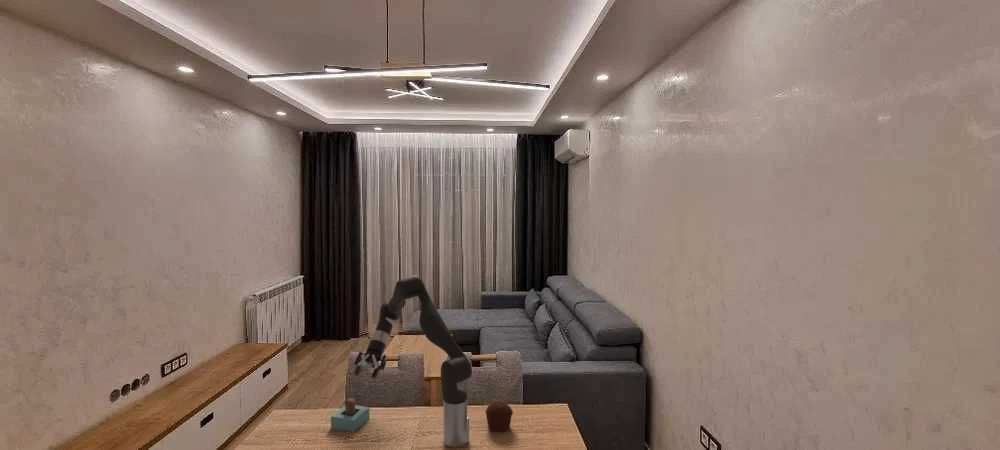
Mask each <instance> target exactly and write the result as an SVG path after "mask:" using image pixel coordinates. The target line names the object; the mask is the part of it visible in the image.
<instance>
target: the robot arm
mask: <svg viewBox="0 0 1000 450" xmlns="http://www.w3.org/2000/svg"><path fill="white" fill-rule="evenodd" d="M428 292H429V291H428V290H427V288H426V286H425V284H424V281H423V280H422V278H421V277H420V276H419V275H417V274H414V275H409V276H406V277H403V278H400V279H398V280H397V282H396V283H395V285H394V290H393V294H392V297H391V299H389V300H388V301H387V302H386V301H385V302H383V303H382V304H381V306H380V309H379V317H378V323H377V325H376V327H375V330H374V332H373V334H372V335H371V338H370V341H369V343H368V345H367V348H366V351H365V353H364V352H362V351H359V352H358V353H357V354H358V355H357V356H356V358H355V361H354V363H353V364H355V365H356V367H355V371H354V375H355V376H356V377H358V376H359V375H360V373H361V370H362V368H363V367H364V366H366V365H367V364H368V365H374V366H375V368H374V370H373V372H372V375H371V378H372V379H376V378H377V377H378V374H379V371H381V370H382V371H383V370H385V367H386V364H387V361H388V357H387V355H386V354H384V352H385V350H386V347H387V345H388V341H389V338H390V334H391V332H392V329H393V323H391V322H390V321H389V320H391V321H394V322H395V321H399V320H400V318H401V317H402V314H403V308H404V307H405V306H406V302H407V300H409V299H413V298H416V297H418V298H419V299H418V300H420V314H419V320H418V321H419V326H420V329H421V330H422V332H423V334H424V337H425V338H426V339H427V340H428V341H429V342H430V343H432V344H433V345H435V346H436V347H438V348H440V349H441V350H442V351H443V352H445V353H446V354H447V356H448V357H449V359H447V360H445V361H443V362H442V363H441V365H440V385H441V387H440V388H441V393H442V397H443V398H442V399H443V402H442V403H443V413H442V414H443V444H444V445H445V446H446V447H448V448H461V447H463V446H464V445H466V444H467V443H469V442H470V418H469V417H468V392H467V390H466V389H464V388H463V387H460V386H458V383H461V382H463V381H466V380H468V379H470V378H471V376H472V374H473V370H472V365H471V362H470V361H469V359H468V357H467V356H466V355H465V353H464V351H463V350H462V349H461V348H460V346H459V344H458V343H457V342H456V341H455V338H454V337H453V335H452V334H451V332H450V329H448V327H447V325H446V323H445V321H444V319H443V317H442V316H441V314H440V312H439V311H438V310H437V308H436V306H435V304H434V302H433V301H432V299H431V297H430V295H429V293H428ZM388 319H389V320H388ZM379 361H380V362H379Z"/></svg>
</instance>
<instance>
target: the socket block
mask: <svg viewBox="0 0 1000 450" xmlns="http://www.w3.org/2000/svg"><path fill="white" fill-rule="evenodd" d="M369 420H370V406H369V407H368V406H362V405H357V404H355V415H353V416H347V415H345V405H344V406H342V407H341V408H339V409H338V410H337V411H336V412H334V413H333V414H332V415H331V416H330V428H331V429H334V430H342V431H345V432H351V433H355V432H356V431H358V429H359V428H361V427H362V426H363V425H364V424H365V423H366V422H368V421H369Z"/></svg>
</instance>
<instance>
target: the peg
mask: <svg viewBox="0 0 1000 450" xmlns="http://www.w3.org/2000/svg"><path fill="white" fill-rule="evenodd" d="M355 405H356V399H355V398H354V397H350V398H349V397H348V398H347V399H345V400H344V406H345V415H347V416H353V415H355Z"/></svg>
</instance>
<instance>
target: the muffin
mask: <svg viewBox="0 0 1000 450" xmlns="http://www.w3.org/2000/svg"><path fill="white" fill-rule="evenodd" d="M484 413H485V416H486V421H487V427H488V429H489V428H490V429H489V430H491V431H490V432H493V431H494V433H495V432H503V433H505V432H506V431H505V430H508V431H509V429H508V428H510V427H511V423H512V422H511V421H512V416H513V414H514V411H513V409H512V408H511V406H509V404H507V403H506V402H503V401H494V402H492V403H490V404H489V405H488V406H487V408H486V409H485V412H484ZM509 426H510V427H509ZM504 431H505V432H504Z"/></svg>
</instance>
